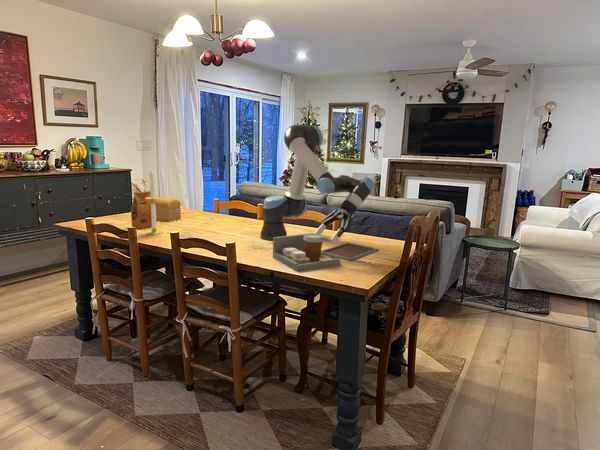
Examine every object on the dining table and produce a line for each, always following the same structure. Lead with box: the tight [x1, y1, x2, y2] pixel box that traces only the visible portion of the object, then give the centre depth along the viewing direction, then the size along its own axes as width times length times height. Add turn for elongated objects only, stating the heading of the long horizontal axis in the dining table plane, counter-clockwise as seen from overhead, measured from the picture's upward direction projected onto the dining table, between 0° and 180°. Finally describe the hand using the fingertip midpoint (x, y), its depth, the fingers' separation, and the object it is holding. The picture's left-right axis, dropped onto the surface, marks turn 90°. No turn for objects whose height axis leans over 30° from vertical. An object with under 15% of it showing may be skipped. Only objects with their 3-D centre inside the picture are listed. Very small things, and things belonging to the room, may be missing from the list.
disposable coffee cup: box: [303, 233, 324, 263], centre depth 195 cm, size 10×10×12 cm
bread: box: [155, 196, 182, 223], centre depth 282 cm, size 24×13×15 cm, turn 69°
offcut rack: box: [272, 232, 342, 272], centre depth 194 cm, size 23×23×10 cm
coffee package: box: [130, 190, 152, 230], centre depth 255 cm, size 10×12×22 cm
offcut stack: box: [282, 247, 311, 264], centre depth 191 cm, size 18×6×6 cm, turn 32°
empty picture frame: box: [320, 242, 379, 262], centre depth 212 cm, size 19×2×30 cm
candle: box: [145, 168, 161, 235], centre depth 240 cm, size 10×10×38 cm
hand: (324, 238), depth 196 cm, fingers open, 13 cm apart
